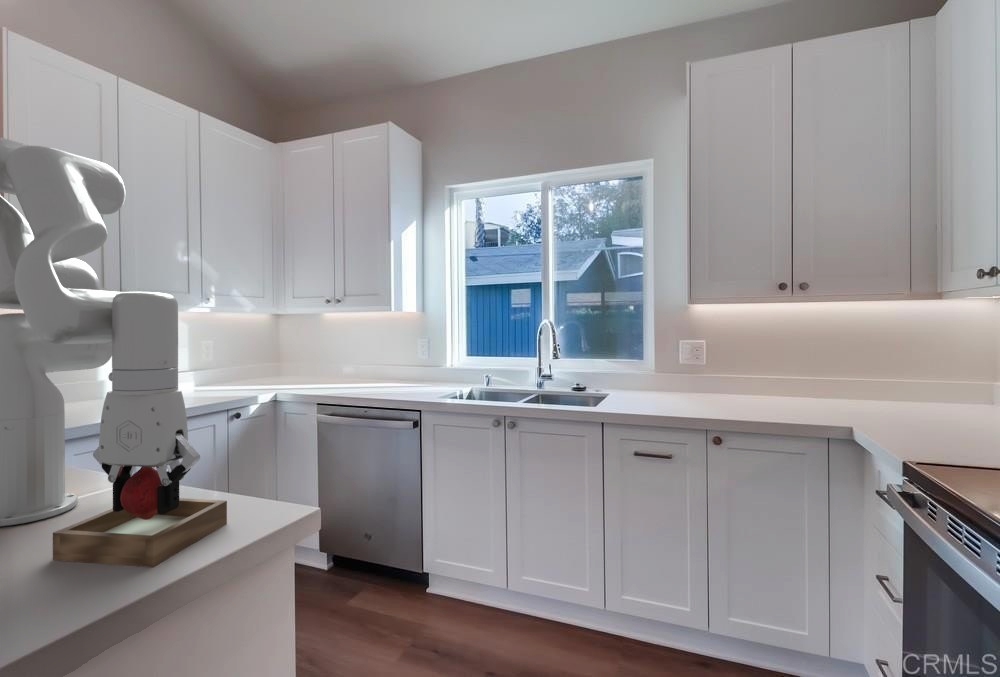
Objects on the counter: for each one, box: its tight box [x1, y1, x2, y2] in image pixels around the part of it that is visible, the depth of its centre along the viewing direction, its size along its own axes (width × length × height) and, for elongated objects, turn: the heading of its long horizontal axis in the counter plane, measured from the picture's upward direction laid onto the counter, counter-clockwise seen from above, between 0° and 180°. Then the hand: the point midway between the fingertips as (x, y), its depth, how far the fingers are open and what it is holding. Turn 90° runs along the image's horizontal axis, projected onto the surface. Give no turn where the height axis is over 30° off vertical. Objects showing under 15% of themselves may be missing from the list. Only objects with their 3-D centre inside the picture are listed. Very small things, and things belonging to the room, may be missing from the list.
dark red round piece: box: [120, 467, 162, 520], centre depth 70 cm, size 6×6×8 cm
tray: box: [52, 497, 228, 568], centre depth 70 cm, size 14×14×4 cm
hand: (146, 508), depth 70 cm, fingers open, 6 cm apart
